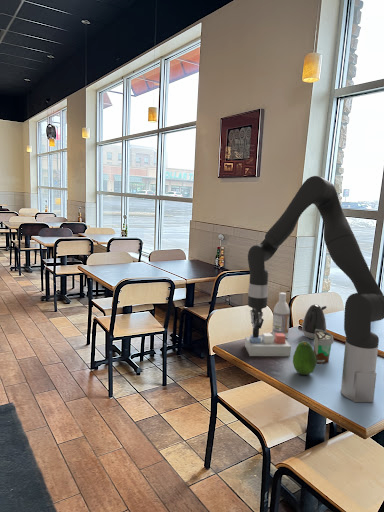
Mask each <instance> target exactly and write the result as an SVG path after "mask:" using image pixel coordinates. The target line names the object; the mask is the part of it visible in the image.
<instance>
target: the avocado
mask: <svg viewBox="0 0 384 512" xmlns="http://www.w3.org/2000/svg"><path fill="white" fill-rule="evenodd" d="M292 363H293V367H294V369H295V371H296V373H298V374H300V375H303V376H304V375H310V374H311V373H313V372H314V371H315V369H316V367H317V364H316V356H315V353H314V348H313V346H312V345H311V343H309V342H308V341H307V340H306V341H305V340H302V341H300V342H299V343H298V344H297V346H296V348H295V351H294V353H293V356H292Z"/></svg>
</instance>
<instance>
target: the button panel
mask: <svg viewBox="0 0 384 512" xmlns="http://www.w3.org/2000/svg"><path fill="white" fill-rule="evenodd" d="M262 337H263V336H260V338H261V342H260V343H251V342H250V336H245V338H244V340H245V341H244V346H245V349H246V352H247V353H248V355H249V357H291V353H292V352H291V351H292V345H290V343H289V342H288V340H287V339H285V344H276V343H275V341H274V339H275V337H273V344H268V343H263V342H262Z"/></svg>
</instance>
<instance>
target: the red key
mask: <svg viewBox="0 0 384 512" xmlns="http://www.w3.org/2000/svg"><path fill="white" fill-rule="evenodd" d="M285 338H286V336H285V335H284V334H283V333H275V339H274V341H275V343H276V344H285V340H286V339H287V338H286V339H285Z"/></svg>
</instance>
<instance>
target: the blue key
mask: <svg viewBox="0 0 384 512" xmlns="http://www.w3.org/2000/svg"><path fill="white" fill-rule="evenodd" d="M249 337H250V342H251V343H260V342H261V338H260V337H261V336H260V335H259V337H253V334H250V336H249Z"/></svg>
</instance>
